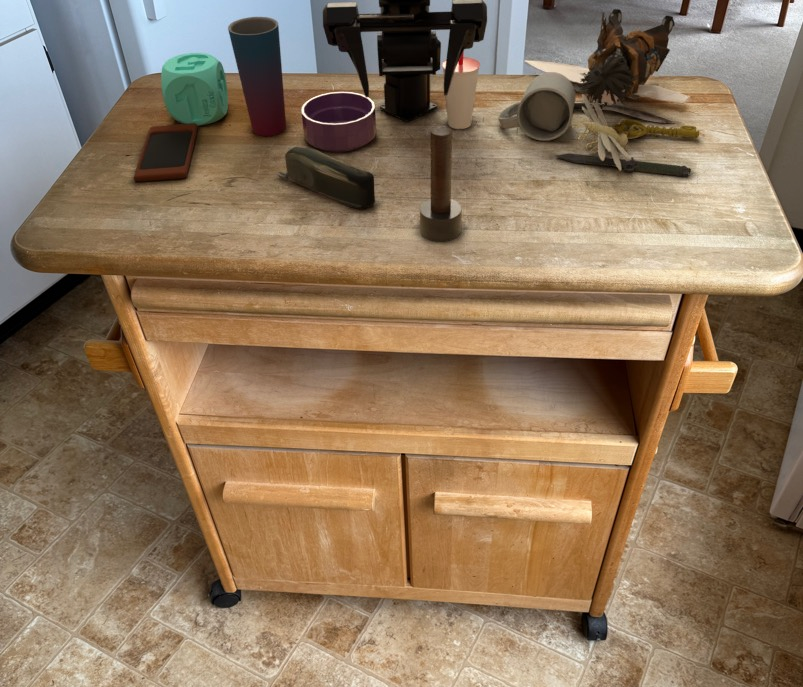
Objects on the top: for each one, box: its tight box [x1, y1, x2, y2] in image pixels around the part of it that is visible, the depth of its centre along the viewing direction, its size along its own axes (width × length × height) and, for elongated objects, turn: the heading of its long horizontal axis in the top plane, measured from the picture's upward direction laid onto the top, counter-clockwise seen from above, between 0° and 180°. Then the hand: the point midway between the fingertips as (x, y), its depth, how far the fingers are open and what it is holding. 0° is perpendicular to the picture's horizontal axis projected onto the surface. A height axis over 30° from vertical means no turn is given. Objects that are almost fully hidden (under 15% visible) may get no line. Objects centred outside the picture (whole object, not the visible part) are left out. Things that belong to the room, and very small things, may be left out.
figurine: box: [577, 8, 676, 107], centre depth 110 cm, size 11×13×30 cm
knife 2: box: [573, 102, 676, 124], centre depth 112 cm, size 18×1×5 cm
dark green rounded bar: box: [277, 146, 376, 210], centre depth 97 cm, size 5×3×15 cm
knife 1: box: [524, 60, 691, 105], centre depth 119 cm, size 6×28×1 cm, turn 52°
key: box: [611, 118, 700, 140], centre depth 107 cm, size 12×1×5 cm
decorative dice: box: [160, 52, 229, 127], centre depth 114 cm, size 8×8×8 cm
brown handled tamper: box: [419, 125, 463, 242], centre depth 87 cm, size 5×5×13 cm
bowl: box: [300, 91, 377, 153], centre depth 109 cm, size 10×10×4 cm
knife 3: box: [554, 152, 692, 177], centre depth 101 cm, size 18×1×3 cm
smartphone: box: [133, 123, 199, 182], centre depth 107 cm, size 7×1×15 cm
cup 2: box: [441, 50, 481, 130], centre depth 108 cm, size 5×5×12 cm
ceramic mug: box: [497, 72, 576, 142], centre depth 108 cm, size 11×8×8 cm
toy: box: [572, 93, 640, 172], centre depth 103 cm, size 15×9×5 cm, turn 8°
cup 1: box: [227, 16, 287, 137], centre depth 108 cm, size 7×7×15 cm
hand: (406, 95), depth 88 cm, fingers open, 9 cm apart
